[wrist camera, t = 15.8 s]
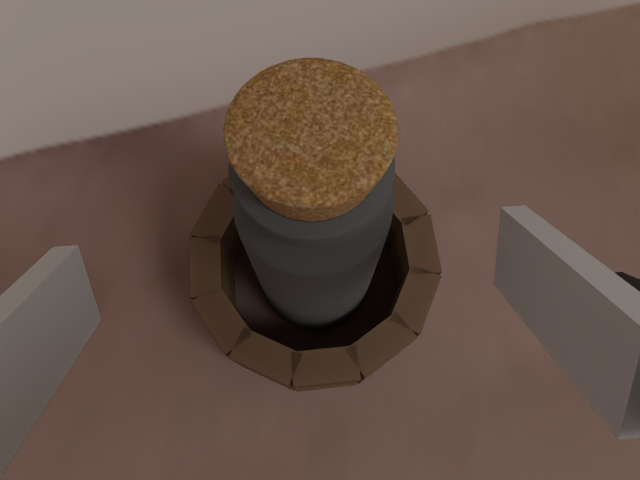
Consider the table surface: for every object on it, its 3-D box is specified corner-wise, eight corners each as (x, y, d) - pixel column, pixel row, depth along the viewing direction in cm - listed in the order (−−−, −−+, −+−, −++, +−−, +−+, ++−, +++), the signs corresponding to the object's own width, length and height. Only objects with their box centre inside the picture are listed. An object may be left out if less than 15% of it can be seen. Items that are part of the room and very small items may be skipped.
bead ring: (402, 173, 29) (414, 137, 25) (440, 375, 25) (461, 368, 21) (205, 191, 29) (188, 157, 25) (210, 400, 24) (190, 397, 21)
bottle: (388, 268, 27) (461, 107, 13) (326, 352, 25) (333, 273, 11) (306, 212, 28) (291, 8, 14) (242, 288, 27) (154, 144, 12)
